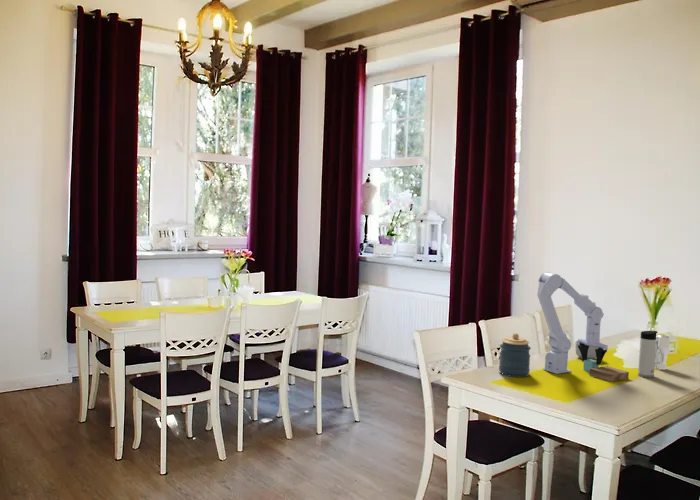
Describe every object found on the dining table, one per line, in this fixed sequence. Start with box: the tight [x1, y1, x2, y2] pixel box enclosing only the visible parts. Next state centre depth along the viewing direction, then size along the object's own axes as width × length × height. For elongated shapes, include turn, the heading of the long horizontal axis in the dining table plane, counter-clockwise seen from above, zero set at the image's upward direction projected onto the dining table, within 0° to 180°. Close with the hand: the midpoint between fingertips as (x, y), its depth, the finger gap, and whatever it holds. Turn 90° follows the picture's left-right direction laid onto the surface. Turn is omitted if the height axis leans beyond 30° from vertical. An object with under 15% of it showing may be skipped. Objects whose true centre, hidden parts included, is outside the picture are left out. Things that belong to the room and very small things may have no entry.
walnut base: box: [589, 365, 630, 383], centre depth 275 cm, size 11×11×3 cm
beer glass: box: [654, 334, 670, 371], centre depth 292 cm, size 7×7×15 cm
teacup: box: [575, 340, 598, 360], centre depth 310 cm, size 14×11×8 cm
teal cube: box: [582, 359, 600, 373], centre depth 285 cm, size 4×4×4 cm
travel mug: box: [637, 330, 658, 379], centre depth 277 cm, size 6×7×20 cm
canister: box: [498, 333, 531, 377], centre depth 276 cm, size 13×13×18 cm
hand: (591, 362), depth 285 cm, fingers open, 7 cm apart
